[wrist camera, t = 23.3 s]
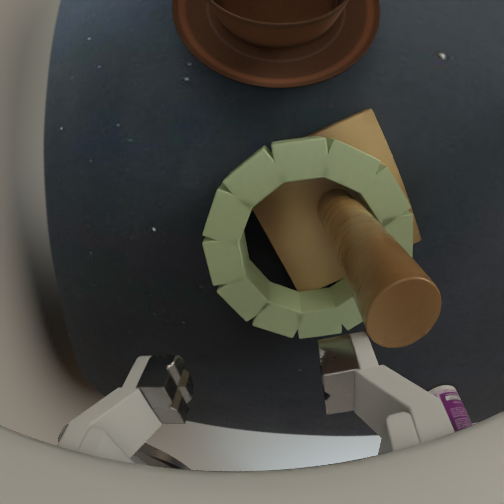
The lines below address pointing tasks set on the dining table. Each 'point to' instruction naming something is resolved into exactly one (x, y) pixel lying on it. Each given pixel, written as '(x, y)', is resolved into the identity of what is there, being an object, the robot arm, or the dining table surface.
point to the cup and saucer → (277, 37)
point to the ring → (260, 186)
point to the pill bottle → (452, 406)
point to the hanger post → (352, 243)
